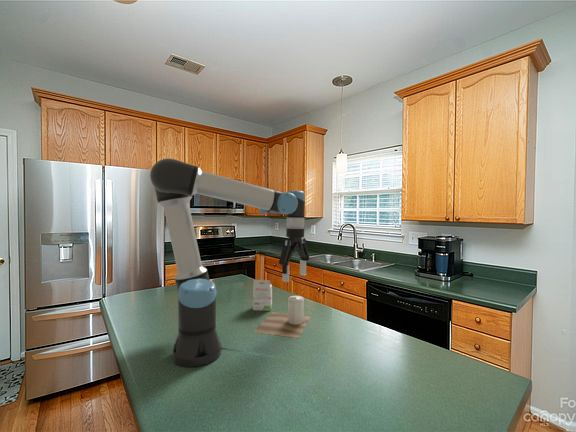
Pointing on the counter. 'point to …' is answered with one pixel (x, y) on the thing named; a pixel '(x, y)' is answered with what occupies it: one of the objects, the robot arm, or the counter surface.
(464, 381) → the counter surface
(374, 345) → the counter surface
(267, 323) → the board
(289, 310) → the lidded container
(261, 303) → the ink box
